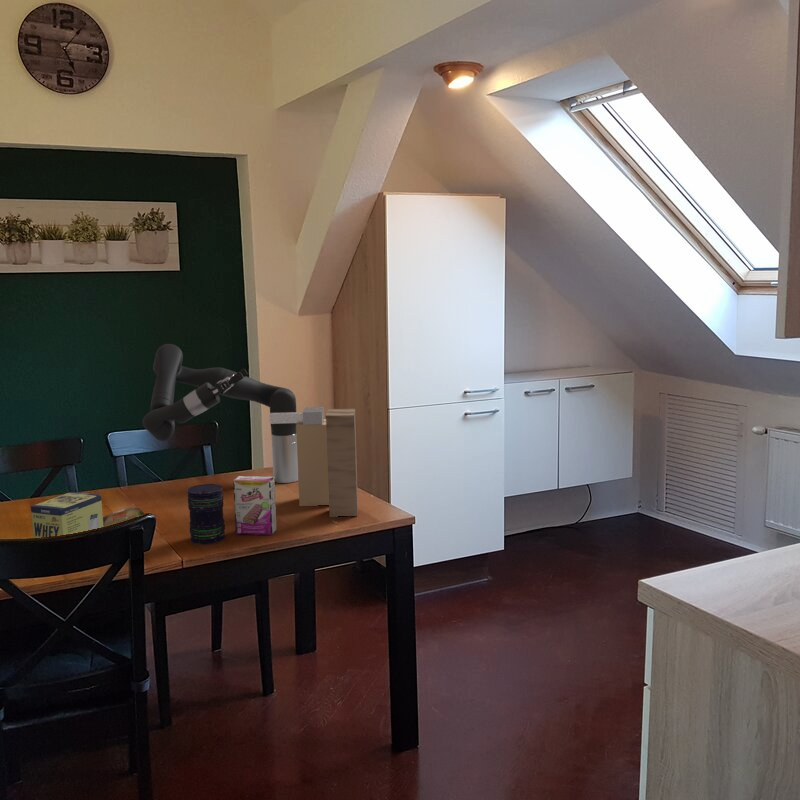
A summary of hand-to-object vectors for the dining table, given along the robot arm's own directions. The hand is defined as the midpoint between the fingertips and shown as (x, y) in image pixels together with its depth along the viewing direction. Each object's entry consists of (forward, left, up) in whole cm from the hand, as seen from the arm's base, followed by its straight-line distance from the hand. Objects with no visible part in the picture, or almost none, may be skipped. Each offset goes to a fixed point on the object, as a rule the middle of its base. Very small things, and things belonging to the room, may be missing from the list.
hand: (244, 373), depth 267 cm
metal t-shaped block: (0, +16, -16) cm, 23 cm away
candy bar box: (+31, +6, -43) cm, 54 cm away
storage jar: (+36, -7, -43) cm, 57 cm away
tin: (+33, -32, -43) cm, 63 cm away
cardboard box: (0, +22, -43) cm, 48 cm away
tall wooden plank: (+14, +31, -43) cm, 55 cm away
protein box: (+46, -42, -43) cm, 76 cm away
